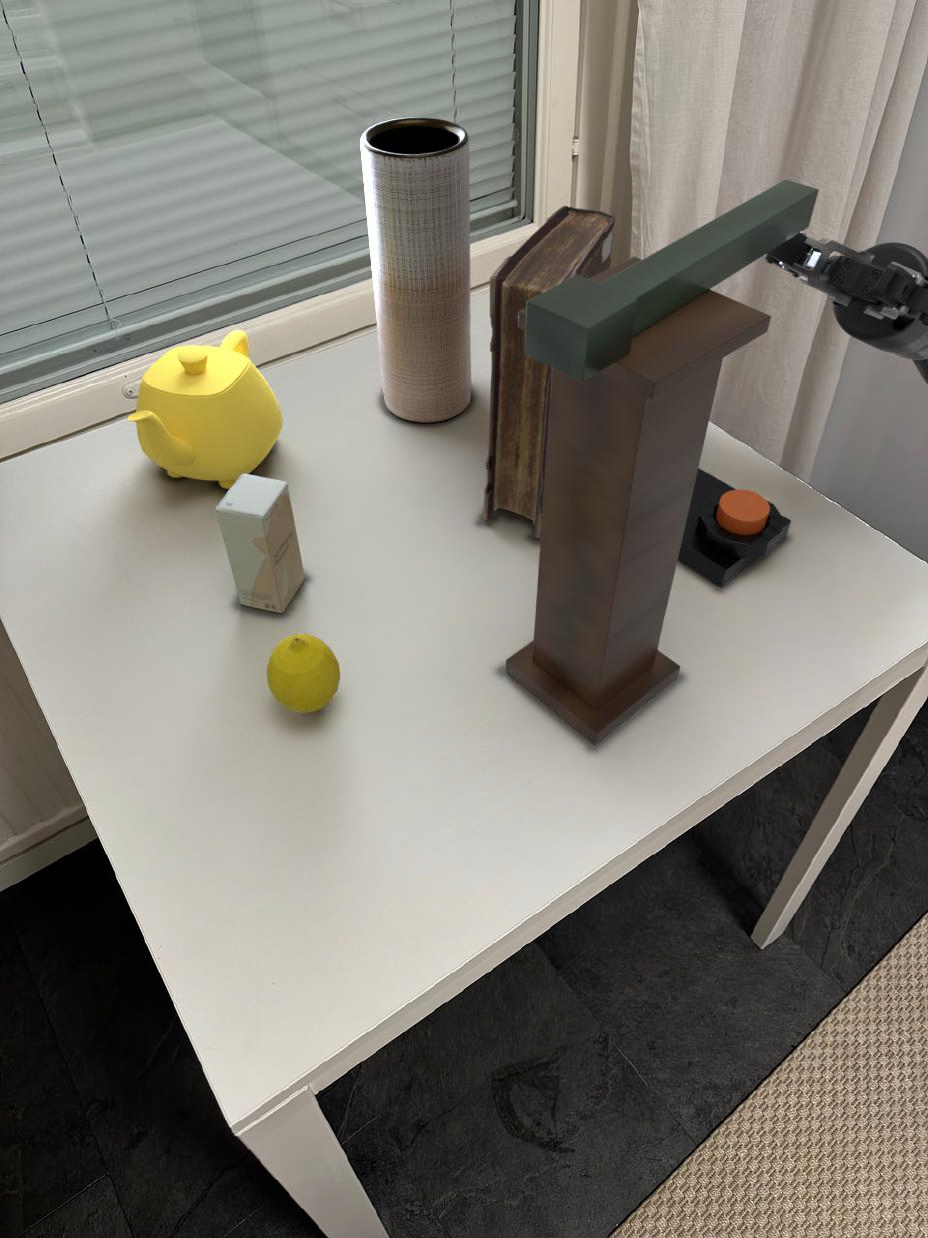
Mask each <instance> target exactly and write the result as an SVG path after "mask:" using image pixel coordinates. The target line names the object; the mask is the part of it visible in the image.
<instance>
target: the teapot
mask: <svg viewBox="0 0 928 1238" xmlns="http://www.w3.org/2000/svg"><path fill="white" fill-rule="evenodd" d="M135 408H136V409H135V412H134V413H132V414H130V415H129V416H128V417H127V421H128V422H133V423H135V425H136V433H137V438H138V439H137V440H138V442H139V447H140V448H141V451H142V452H143V453H144V454H145V456H147V458H148V459H149V460H151V461H152V462H153V463H155V464H156V465H158V466H159V467H161V468H162V469H165V470H167V475H168V476H169V477H172V478H183V477H185V478H188V479H193V480H202V481H218V484H219V486H220V487H221V488H223V489H227V490H230V488H231V487H232V486H233V485H234V483H235V482H236V481H237V480H238V478H239V477H240V476H241V475H242V474H250V473H251V472H252V471H254V470H255V469H256V468H257V467H258V466H259V465H260V464H261V463H262V462H263V461H264V460H265V458H266V457H267V456H268V454H269V453H270V451H272V448H273V447H274V445H275V443H276V442H277V440H278V437H279V435H280V433H281V430H282V428H283V422H284V421H283V420H284V419H283V415H282V411H281V407H280V405H279V402H278V400H277V397H276V395H275V392H274V390H273V389H272V387H271V385H270V384H269V382H268V381H267V380H266V378H265V376H263V374H262V373H261V371H260V370H259V369H258V368H257V367H256V365H255V363H253V362H252V361H251V359H250V342H249V338H248V335H247V333H246V332H245V331H243V330H240V329H235V330H233V331H230V332H229V333H228V334H227V335H226V336H225V337H224V339H223V340H222V342H221V344H220V345H219V346H213V345H201V344H200V345H199V344H191V345H181V346H177V347H173V348H172V349H170V350H168V351H166V352H165V353H164V354H163V355H162V356H161V357H159V358H158V359H157V360H156V361H155V362H154V363H153V364H152V365H151V366H150V367H149V368H148V370H146V372H145V373H144V374H143V376H142V378H141V381H140V384H139V391H138V394H137V401H136V407H135Z"/></svg>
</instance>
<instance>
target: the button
mask: <svg viewBox="0 0 928 1238" xmlns="http://www.w3.org/2000/svg"><path fill="white" fill-rule="evenodd" d="M767 501H768V499H766V498H765V497H764V496H762V494H759V493H757V492H755V491H752V490H749V489H737V490H732V491H729V492H726V493H725V494H724V495H723V496H722V497H721V498H720V501H719V505H718V509H717V513H716V520H717V522H718V524H719V525H720V526H721V527H722V528H724V529H726V530H727V531H729V532H731V533H736V534H741V535H752V534H757V533H759V532H760V531H762V530H763V528H764V527H765V524H766V521H767V518H768V514H769V511H770V506H769V503H768V502H767Z"/></svg>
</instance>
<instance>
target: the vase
mask: <svg viewBox="0 0 928 1238" xmlns="http://www.w3.org/2000/svg"><path fill="white" fill-rule="evenodd" d="M360 155H361V165H362V176H363V185H364V186H363V187H364V197H365V198H364V199H365V210H366V219H367V220H366V221H367V231H368V241H369V250H370V252H369V253H370V263H371V273H372V284H373V296H374V306H375V317H376V318H375V319H376V328H377V330H376V331H377V337H378V348H379V349H378V351H379V360H380V361H379V362H380V371H381V372H380V373H381V382H382V383H381V384H382V392H383V398H384V404H385V406H386V408H387V409H388V410H389V411H390V412H391V413H392V414H393V415H394V416H395V417H398V418H400V419H403V420H404V421H405V420H406V421H408V422H415V423H422V424H423V423H424V424H425V423H426V424H427V423H428V424H429V423H438V422H442V421H446V420H449V419H452V418H454V417H456V416H458V415H460V414H461V413H463V412H464V410H465V409H466V408H467V407H468V406H469V404H470V402H471V400H472V399H471V397H472V336H471V335H472V332H471V331H472V327H471V325H472V323H471V321H472V320H471V319H472V314H471V307H472V306H471V203H470V201H471V199H470V198H471V197H470V195H471V194H470V187H471V186H470V136H469V134H468V132H467V130H466V129H465V128H464V127H462V125H459V124H458V123H456V122H453V121H450V120H446V119H441V118H435V117H425V116H424V117H423V116H418V117H417V116H416V117H401V118H394V119H390V120H386V121H382V122H379V123H376V124H374V125H372V126H370V127H368V128H367V129H366V130H365V131H364V132H363V133H362V135H361V137H360Z"/></svg>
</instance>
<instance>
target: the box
mask: <svg viewBox="0 0 928 1238" xmlns="http://www.w3.org/2000/svg"><path fill="white" fill-rule="evenodd" d="M289 490H290V489H289V484H288V482H287V481H283V480H280V479H279V480H278V479H274V478H269V477H265V476H259V475H253V474H250V473H249V474H242V475H241V476H240V477H239V478H238V480H237V481H236V482H235V483H234V485H233V486H232V487H231V488H230V489H228V491H227V492H226V493H225V495H224V496H223V498H222V499H221V500H220V501H219V503H218V505H217V506H216V507H215V512H216V515H217V520H218V524H219V528H220V532H221V535H222V539H223V543H224V546H225V550H226V554H227V558H228V562H229V565H230V570H231V574H232V577H233V581H234V584H235V588H236V592H237V596H238V600H239V603H240V605H243V606H247V607H250V608H254V609H258V610H263V611H268V612H269V611H270V612H272V613H279V614H282V613H283V614H284V612H285V611H286V609H287V608H288V606H289V605H290V603H291V601H292V600H293V598H294V597H295V595H296V593H297V591H298V590H299V588H300V587H301V585H302V583H303V582H304V580H305V577H306V575H305V571H304V566H303V561H302V555H301V547H300V543H299V538H298V533H297V528H296V523H295V516H294V512H293V506H292V501H291V495H290V491H289Z"/></svg>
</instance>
